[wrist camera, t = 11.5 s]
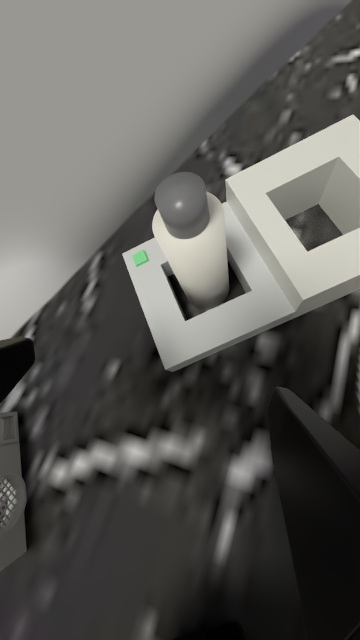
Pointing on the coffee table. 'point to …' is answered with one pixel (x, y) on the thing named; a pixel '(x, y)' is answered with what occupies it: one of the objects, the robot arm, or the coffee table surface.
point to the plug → (193, 238)
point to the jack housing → (265, 249)
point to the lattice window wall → (11, 492)
